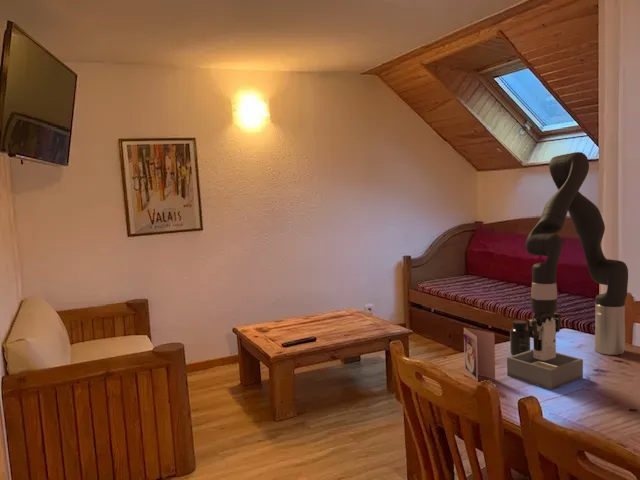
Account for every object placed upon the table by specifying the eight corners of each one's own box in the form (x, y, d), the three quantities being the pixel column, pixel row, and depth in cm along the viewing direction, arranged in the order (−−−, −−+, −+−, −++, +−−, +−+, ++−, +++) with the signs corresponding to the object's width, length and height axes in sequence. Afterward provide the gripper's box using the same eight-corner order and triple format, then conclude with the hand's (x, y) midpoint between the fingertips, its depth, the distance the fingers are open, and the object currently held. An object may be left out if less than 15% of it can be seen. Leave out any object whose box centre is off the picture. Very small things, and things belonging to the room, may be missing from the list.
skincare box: (545, 361, 168) (544, 323, 167) (532, 357, 172) (532, 320, 171) (556, 357, 171) (556, 319, 170) (544, 353, 175) (544, 317, 174)
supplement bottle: (532, 352, 196) (532, 320, 195) (528, 358, 190) (528, 325, 189) (512, 350, 200) (512, 318, 199) (508, 355, 194) (507, 323, 193)
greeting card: (462, 371, 180) (461, 327, 179) (483, 369, 181) (482, 326, 180) (475, 383, 169) (474, 337, 168) (497, 381, 170) (497, 335, 168)
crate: (538, 364, 183) (538, 347, 183) (582, 377, 170) (582, 359, 169) (507, 375, 175) (507, 357, 174) (551, 390, 161) (551, 370, 161)
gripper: (547, 291, 177) (547, 341, 178) (519, 298, 169) (519, 350, 171) (568, 294, 170) (568, 346, 172) (540, 301, 163) (540, 355, 164)
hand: (544, 348), depth 171 cm, fingers closed on skincare box, 6 cm apart
